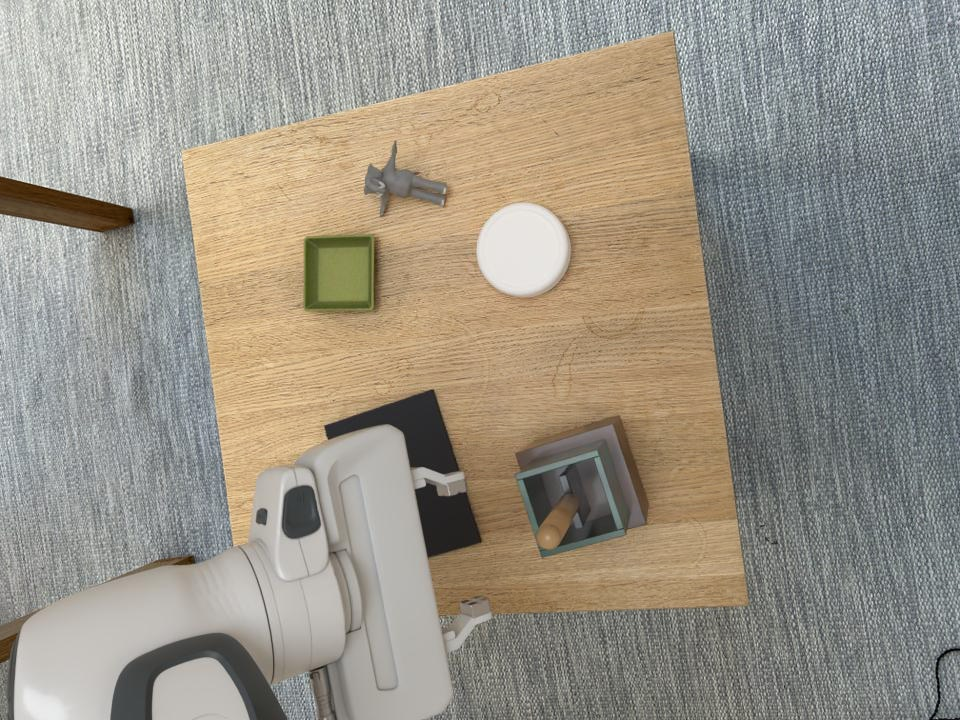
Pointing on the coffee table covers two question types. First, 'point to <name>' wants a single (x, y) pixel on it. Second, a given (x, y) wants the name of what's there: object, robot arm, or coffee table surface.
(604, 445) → the open box
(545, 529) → the spatula
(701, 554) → the coffee table surface
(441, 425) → the mat
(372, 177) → the elephant figurine
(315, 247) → the green square dish
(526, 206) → the white round tub
